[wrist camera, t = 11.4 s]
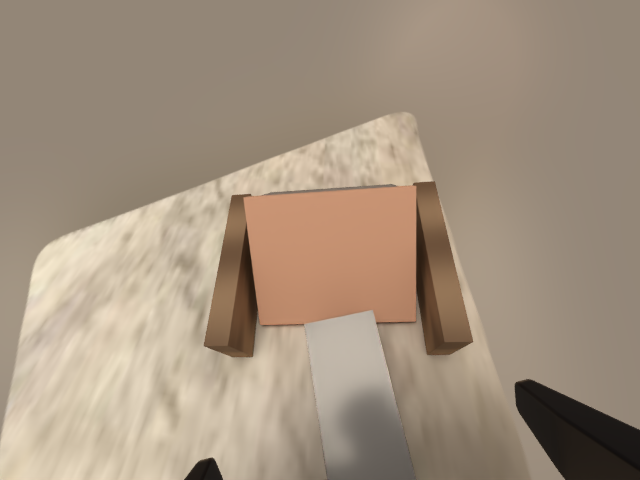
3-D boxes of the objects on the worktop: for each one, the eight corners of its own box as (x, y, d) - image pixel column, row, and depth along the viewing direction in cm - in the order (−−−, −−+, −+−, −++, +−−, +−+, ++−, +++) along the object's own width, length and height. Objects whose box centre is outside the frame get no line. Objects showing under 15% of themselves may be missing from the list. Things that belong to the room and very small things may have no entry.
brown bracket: (449, 354, 21) (473, 341, 17) (232, 357, 23) (203, 346, 19) (422, 216, 27) (434, 181, 23) (250, 226, 29) (231, 195, 25)
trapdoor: (405, 298, 26) (415, 321, 22) (272, 302, 27) (259, 324, 23) (404, 183, 24) (416, 186, 20) (259, 193, 25) (243, 197, 21)
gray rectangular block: (370, 322, 22) (417, 507, 18) (314, 333, 23) (344, 520, 18) (372, 309, 18) (433, 545, 14) (304, 324, 19) (339, 560, 14)
